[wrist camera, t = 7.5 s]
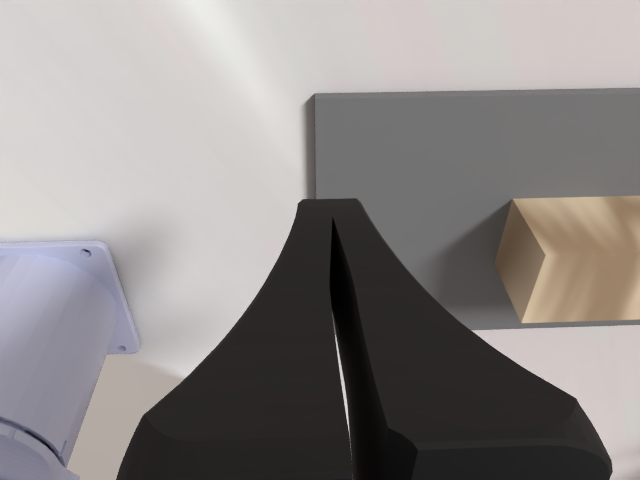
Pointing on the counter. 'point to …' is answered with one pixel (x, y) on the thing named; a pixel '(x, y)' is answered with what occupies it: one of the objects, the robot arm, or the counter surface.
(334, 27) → the counter surface
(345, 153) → the rubber mat
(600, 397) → the counter surface
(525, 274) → the long block
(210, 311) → the counter surface
